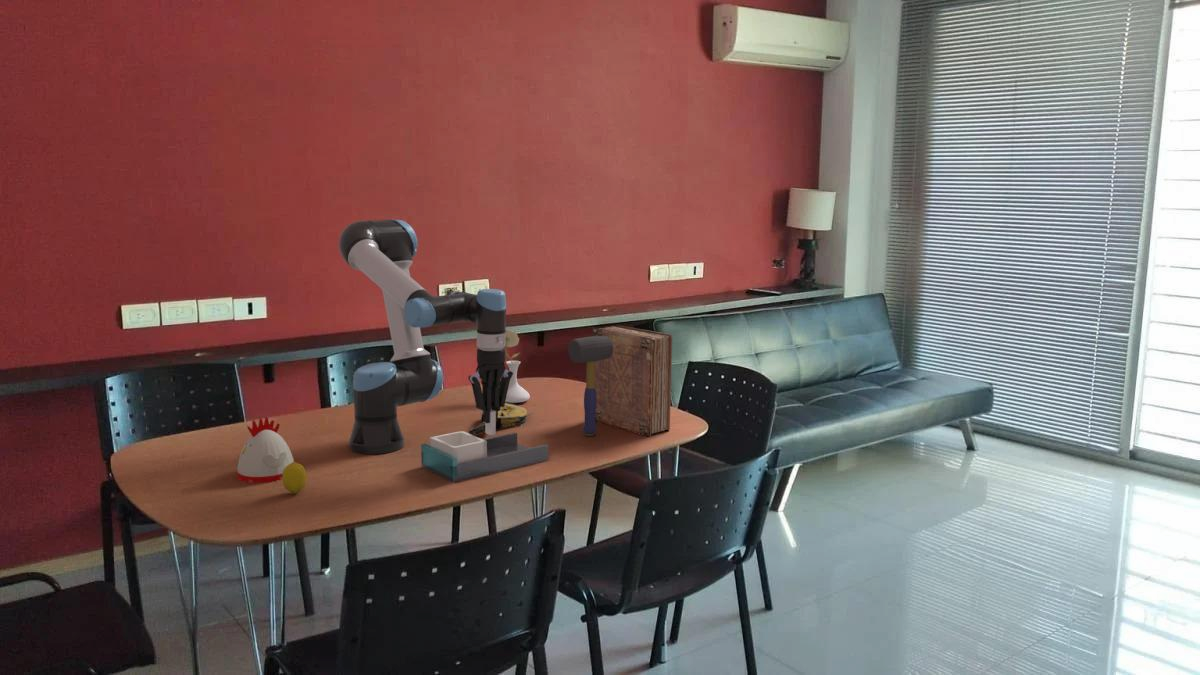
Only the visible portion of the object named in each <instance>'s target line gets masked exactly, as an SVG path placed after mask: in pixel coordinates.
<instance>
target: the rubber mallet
mask: <svg viewBox="0 0 1200 675" xmlns="http://www.w3.org/2000/svg"><path fill="white" fill-rule="evenodd" d="M567 353H568V357H569V359H570V360H571V361H572V362H573V363H586V371H585V372H586V374H585V375H586V377H585V378H586V379H585V381H586V382H585V384H586V385H585V389H584V395H583V409H584V424H583V427H582V431H583V433H584V435H585V436H586V437H587V436H588V437H591V436H595V434H596V432H597V423H596V421H595V412H596V390H595V361H599V360H604V359H608V358H610V357H611V356H612V353H613V344H612V341H611V339H610V338H609V337H607V336H593V337H592V336H586V337H579V338H574V339H572V340H571V341H570V342H568V348H567Z"/></svg>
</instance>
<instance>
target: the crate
mask: <svg viewBox="0 0 1200 675" xmlns="http://www.w3.org/2000/svg"><path fill="white" fill-rule="evenodd" d="M483 439H484V438H480V437H478V436H477V435H474V434H473V435H471V434H469V432H466V431H464V430H460V431H455V432H449V433H445V434H441V435H440V434H439V435H435V436H430V437H429V446H432V447H434V448H436V449H438V450H440V451H442V452H444V453H447V454H449V455H451V456H453V457H455V458H457V464H459V463H464V462H468V461H473V460H477V459H482V458H486V457H487V441H485V440H483Z"/></svg>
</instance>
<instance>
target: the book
mask: <svg viewBox="0 0 1200 675" xmlns="http://www.w3.org/2000/svg"><path fill="white" fill-rule="evenodd" d="M593 336H607V337H609V338H610V339H611V341H612V344H613V353H612V356H611V357H610V358H608V359H604V360H599V361H595V390H596V412H595V422H598V421H599V422H598V423H601V422H602V423H601V424H604V423H605V425H608V424H609V425H608V426H611V425H612V426H611V427H614V426H616V427H615V428H618V427H619V428H618V429H621V428H623V429H622V430H624V429H626V430H625V431H628V430H630V431H629V432H631V431H633V432H632V433H634V432H636V433H635V434H638V433H640V434H639V435H641V434H643V436H645V435H646V437H648V436H650V437H651V436H652V435H653V434H656V433H660V432H664V431H665V430H668V431H667V432H669V431H670V430H671V402H672V401H671V396H672V395H671V394H672V363H673V362H672V359H673V357H672V356H673V335H672V334H669V333H665V332H660V331H659V332H658V331H654V330H653V331H652V330H648V329H643V328H642V329H640V328H637V327H636V328H635V327H630V326H625V325H624V326H623V325H618V324H610V325H603V326H596V327H592V336H591V337H593Z"/></svg>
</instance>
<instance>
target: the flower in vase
mask: <svg viewBox="0 0 1200 675" xmlns="http://www.w3.org/2000/svg"><path fill="white" fill-rule="evenodd" d="M505 330H506V332H505V357H508V359H509V360H508V361H507V360H506V361H505V363H506V365H507V366H508V369H509V370H508V371H511V372H513V375H512V377H511V379H510V382H509V387H508V391H507V396H506V401H505V402H506V403H511V404H517V403H518V404H519V403H522V402H526V401H528V400H529V399H531V398H530V397H531V396H530V393H529V392H528V391H527V390H526V389H525V388H523V387H522V386H521V385H519V383H518V379H517V375H518V368H519V366H520V364H521V361H519V360H513V359H514V358H516V357H518V356H519V355H520V354H521V352H518V353H515V354H513V355H512V356H511V357H510V356H509V353H508V351H507V348H512V347H513V348H514V347H515V346H518V345H519V341H520V337H518V336H519V335H518V333H516V332H515V331H512V329H507V328H506V329H505Z"/></svg>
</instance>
